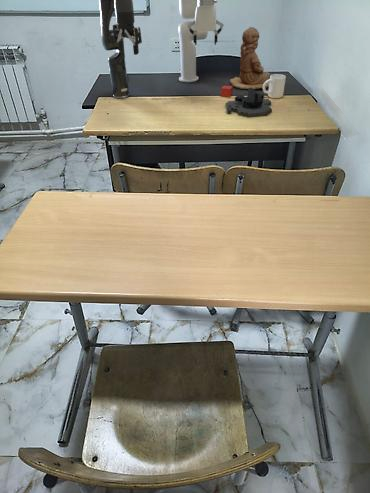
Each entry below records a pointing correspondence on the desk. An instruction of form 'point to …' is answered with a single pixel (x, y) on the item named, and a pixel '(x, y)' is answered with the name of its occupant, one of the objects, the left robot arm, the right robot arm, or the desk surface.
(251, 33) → the sculpture
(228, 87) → the brick
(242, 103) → the abstract sculpture
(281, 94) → the mug
